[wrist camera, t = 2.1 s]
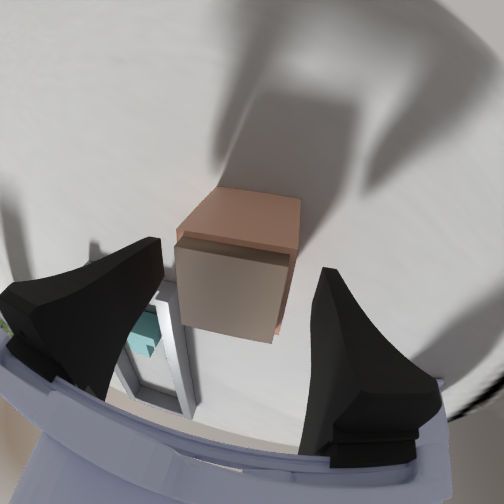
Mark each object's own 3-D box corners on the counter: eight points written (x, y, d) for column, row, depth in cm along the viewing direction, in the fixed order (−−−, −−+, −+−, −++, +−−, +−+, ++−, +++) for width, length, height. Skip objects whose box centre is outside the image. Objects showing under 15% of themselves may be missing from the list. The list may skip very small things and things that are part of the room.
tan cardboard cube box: (301, 198, 14) (297, 262, 9) (287, 269, 16) (276, 348, 11) (216, 186, 14) (167, 239, 9) (214, 256, 17) (177, 326, 12)
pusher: (165, 317, 20) (153, 339, 18) (173, 354, 23) (163, 374, 21) (107, 299, 21) (92, 317, 19) (120, 336, 23) (109, 354, 21)
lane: (179, 283, 18) (167, 302, 17) (196, 406, 29) (191, 419, 27) (88, 261, 19) (74, 275, 17) (136, 386, 30) (130, 398, 28)
